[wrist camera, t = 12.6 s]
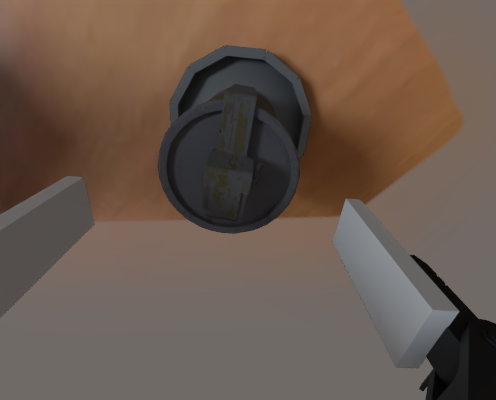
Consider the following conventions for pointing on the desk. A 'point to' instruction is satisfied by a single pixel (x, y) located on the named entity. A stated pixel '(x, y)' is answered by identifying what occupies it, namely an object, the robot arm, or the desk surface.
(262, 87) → the round tray
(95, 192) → the desk surface
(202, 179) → the canister
